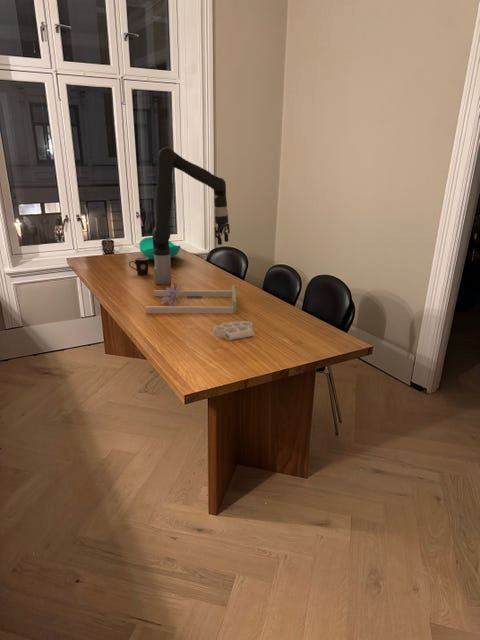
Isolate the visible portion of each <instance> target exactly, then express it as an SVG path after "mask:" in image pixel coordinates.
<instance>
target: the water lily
mask: <svg viewBox="0 0 480 640" xmlns="http://www.w3.org/2000/svg"><path fill="white" fill-rule="evenodd" d="M180 287H181V285H180V284H178V285H177V287H176V288H175V284H174V282H173V281H171V283H170V287H168V286H167V287H166V288H165V289H163V290H164V291H162V294H163V295H165V296H162V298H161V300H162V301H160V304H161V305H162V304H165V303H168V306H169V305H170V306H175V302H176V301H177V303H180V301H179V299H178V297H179V296H178V295H176V294H177V292H178V290H180ZM174 292H175V294H174ZM175 295H176V296H175Z"/></svg>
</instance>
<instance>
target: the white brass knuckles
mask: <svg viewBox="0 0 480 640" xmlns="http://www.w3.org/2000/svg"><path fill="white" fill-rule="evenodd" d="M213 336H215V337H217V338H224V339H226V340H227V341H229V342H230V341H234V340H239V339H245V338H252V337H255V331H254V329H253V323H252V322H251V321H247V320H243V321H231V322H223V323H221V324H219V325H215V326H214V327H213ZM251 336H252V337H251Z"/></svg>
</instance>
